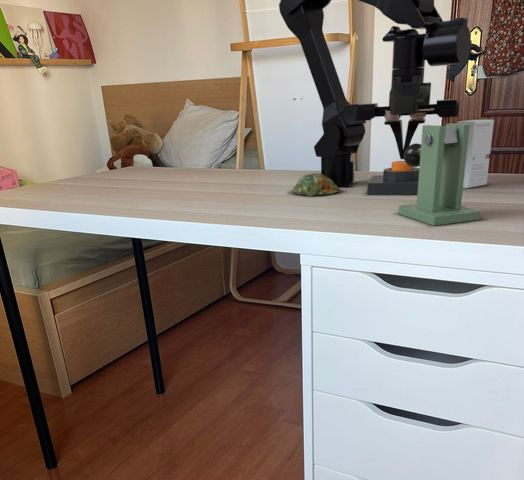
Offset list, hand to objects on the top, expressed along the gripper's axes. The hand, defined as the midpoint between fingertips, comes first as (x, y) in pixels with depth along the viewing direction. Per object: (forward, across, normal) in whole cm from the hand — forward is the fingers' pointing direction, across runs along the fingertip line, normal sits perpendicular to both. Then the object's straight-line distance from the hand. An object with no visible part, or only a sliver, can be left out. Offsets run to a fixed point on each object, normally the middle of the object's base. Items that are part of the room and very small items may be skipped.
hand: (402, 159), depth 103 cm
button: (+2, 0, 0) cm, 2 cm away
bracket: (+6, +7, -24) cm, 26 cm away
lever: (-2, +5, -21) cm, 22 cm away
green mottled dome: (+6, -17, -2) cm, 18 cm away
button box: (+6, 0, 0) cm, 6 cm away
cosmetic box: (+6, +13, +5) cm, 15 cm away
